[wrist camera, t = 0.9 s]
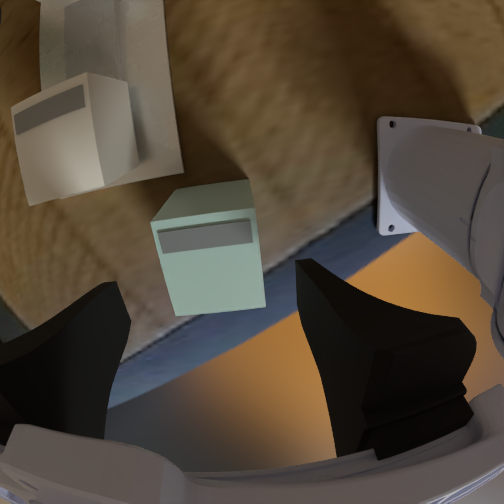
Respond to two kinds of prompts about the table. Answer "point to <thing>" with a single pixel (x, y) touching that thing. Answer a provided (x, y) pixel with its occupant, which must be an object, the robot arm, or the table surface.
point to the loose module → (210, 248)
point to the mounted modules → (74, 134)
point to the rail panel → (119, 70)
